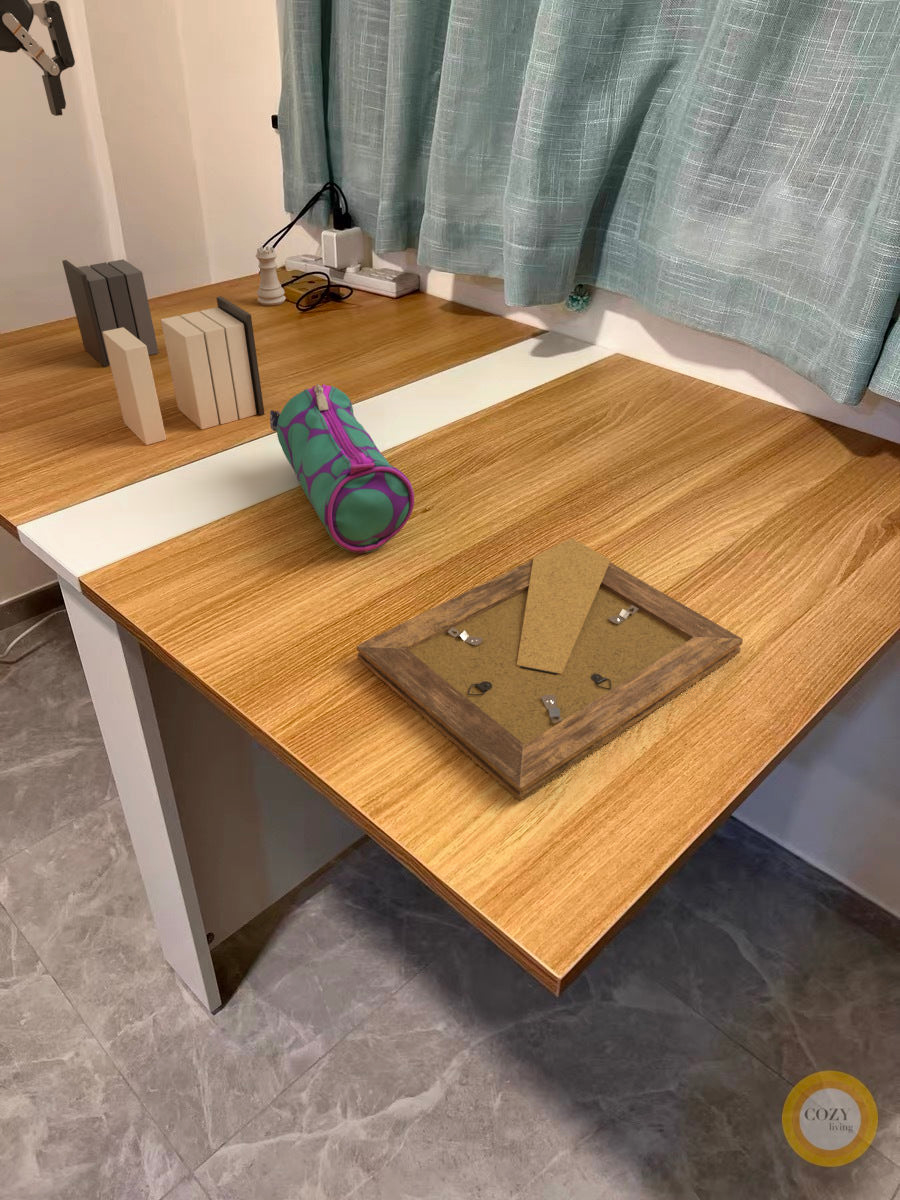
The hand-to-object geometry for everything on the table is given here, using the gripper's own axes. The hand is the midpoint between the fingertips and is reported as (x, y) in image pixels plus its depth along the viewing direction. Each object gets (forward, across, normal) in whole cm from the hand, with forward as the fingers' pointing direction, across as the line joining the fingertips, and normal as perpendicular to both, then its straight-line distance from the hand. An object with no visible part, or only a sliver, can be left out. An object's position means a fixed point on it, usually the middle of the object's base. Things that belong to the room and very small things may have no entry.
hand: (16, 118), depth 95 cm
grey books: (+30, -8, -8) cm, 32 cm away
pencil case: (+30, -11, +46) cm, 56 cm away
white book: (+30, -1, +18) cm, 35 cm away
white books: (+30, -10, +18) cm, 36 cm away
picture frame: (+30, -12, +76) cm, 83 cm away
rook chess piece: (+30, -34, -15) cm, 48 cm away
